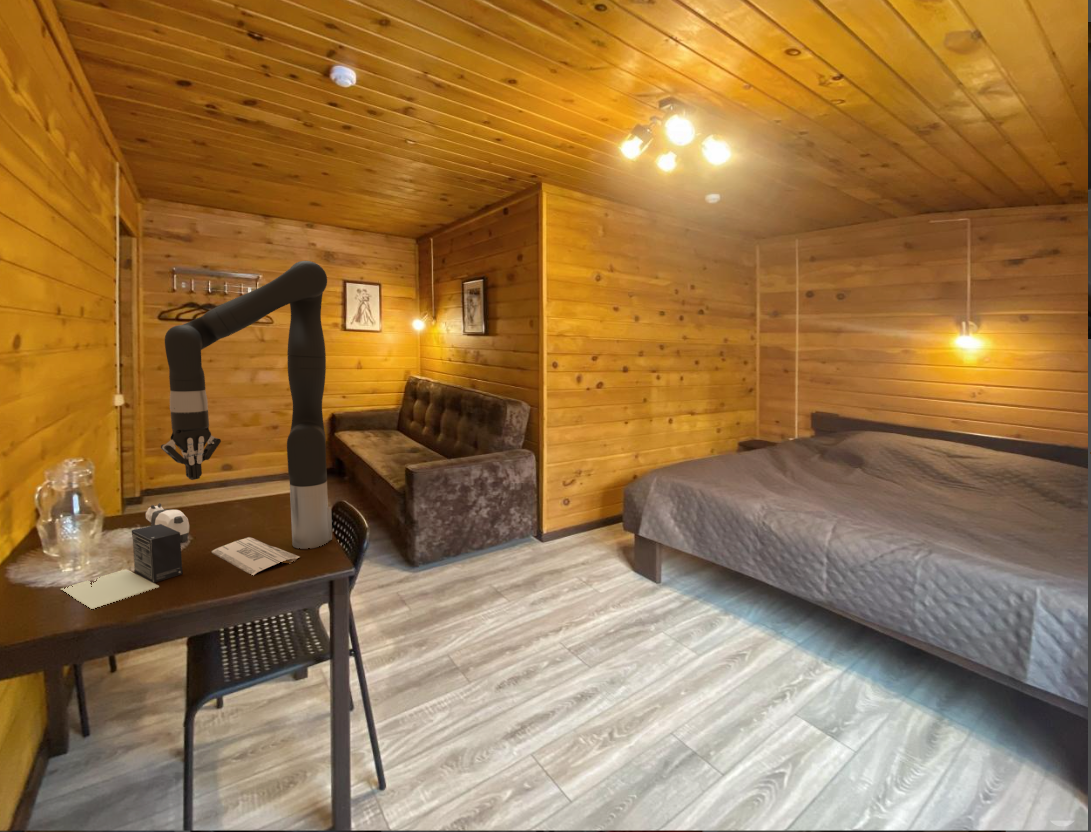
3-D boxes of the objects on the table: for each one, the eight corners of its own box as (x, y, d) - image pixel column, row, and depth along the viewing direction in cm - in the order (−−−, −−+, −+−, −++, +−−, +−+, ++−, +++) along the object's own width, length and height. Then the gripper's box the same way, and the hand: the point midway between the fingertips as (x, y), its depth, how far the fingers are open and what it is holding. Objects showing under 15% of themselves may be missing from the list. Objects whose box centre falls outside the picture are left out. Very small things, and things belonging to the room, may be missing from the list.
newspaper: (303, 561, 133) (301, 552, 132) (254, 583, 123) (252, 573, 122) (258, 540, 146) (257, 531, 145) (211, 558, 136) (209, 549, 135)
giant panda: (192, 541, 143) (190, 507, 141) (170, 548, 138) (168, 513, 136) (161, 531, 149) (158, 499, 147) (139, 537, 144) (136, 504, 142)
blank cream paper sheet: (126, 570, 124) (126, 568, 124) (159, 587, 116) (159, 585, 116) (60, 590, 114) (60, 588, 114) (91, 610, 106) (91, 608, 106)
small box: (185, 574, 123) (182, 531, 122) (153, 584, 118) (149, 539, 116) (165, 563, 129) (161, 522, 127) (133, 572, 123) (129, 529, 122)
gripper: (166, 413, 118) (171, 487, 120) (226, 407, 129) (230, 475, 132) (150, 410, 122) (156, 482, 124) (210, 405, 133) (214, 471, 135)
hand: (194, 478), depth 128 cm, fingers closed
